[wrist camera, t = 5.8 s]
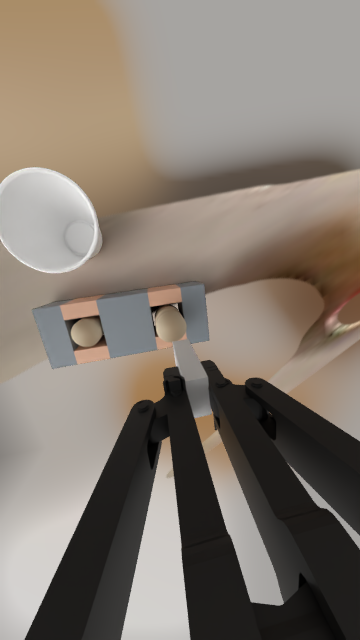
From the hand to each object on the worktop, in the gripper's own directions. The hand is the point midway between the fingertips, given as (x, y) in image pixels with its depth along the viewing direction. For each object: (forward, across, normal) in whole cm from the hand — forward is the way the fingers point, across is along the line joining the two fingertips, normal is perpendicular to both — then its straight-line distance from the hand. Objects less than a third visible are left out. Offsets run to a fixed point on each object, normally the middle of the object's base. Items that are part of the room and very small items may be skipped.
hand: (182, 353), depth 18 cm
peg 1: (+18, -12, 0) cm, 22 cm away
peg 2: (+14, 0, 0) cm, 14 cm away
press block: (+18, -6, 0) cm, 19 cm away
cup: (+18, -11, +14) cm, 25 cm away
